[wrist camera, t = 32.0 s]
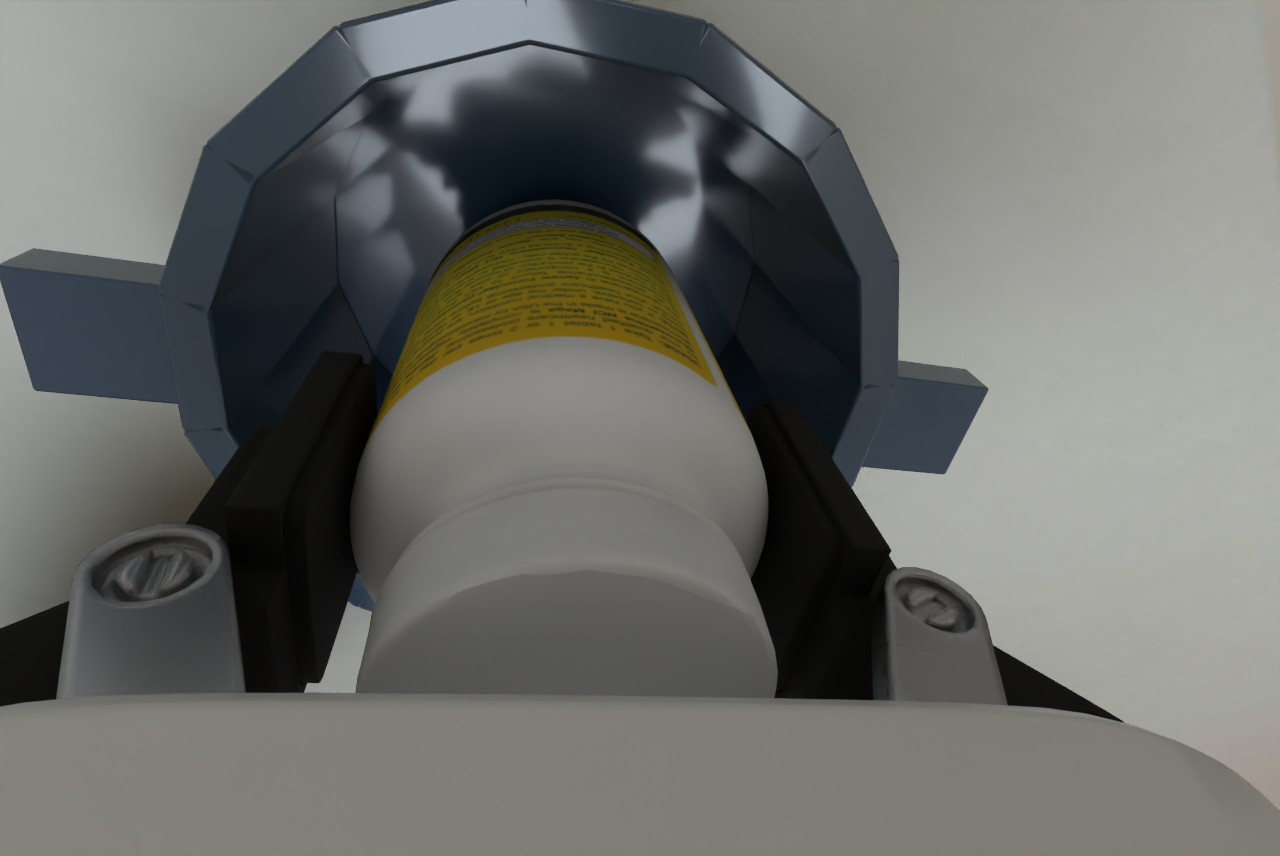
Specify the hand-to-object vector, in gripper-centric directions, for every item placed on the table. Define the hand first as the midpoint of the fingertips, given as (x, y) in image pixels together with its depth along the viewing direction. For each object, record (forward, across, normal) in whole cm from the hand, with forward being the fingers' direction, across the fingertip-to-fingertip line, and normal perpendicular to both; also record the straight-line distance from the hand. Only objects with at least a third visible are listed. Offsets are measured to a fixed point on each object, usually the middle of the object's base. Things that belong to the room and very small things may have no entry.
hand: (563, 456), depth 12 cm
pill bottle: (+6, 0, 0) cm, 6 cm away
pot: (+10, 0, 0) cm, 10 cm away
